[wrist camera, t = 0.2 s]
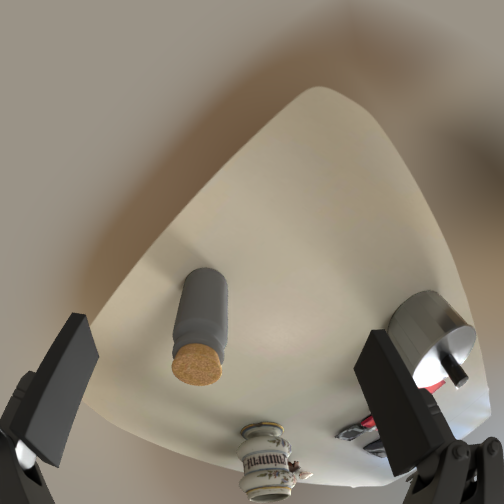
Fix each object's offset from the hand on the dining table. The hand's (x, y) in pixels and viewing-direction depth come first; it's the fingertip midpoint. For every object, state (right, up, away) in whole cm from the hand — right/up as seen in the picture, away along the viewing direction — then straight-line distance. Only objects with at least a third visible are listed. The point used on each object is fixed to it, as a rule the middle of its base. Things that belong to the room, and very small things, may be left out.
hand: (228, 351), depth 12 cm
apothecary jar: (+3, -37, +44) cm, 57 cm away
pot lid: (+31, -12, +23) cm, 41 cm away
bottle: (-5, 0, +26) cm, 26 cm away
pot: (+31, -8, +32) cm, 45 cm away
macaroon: (+19, -70, +61) cm, 95 cm away
